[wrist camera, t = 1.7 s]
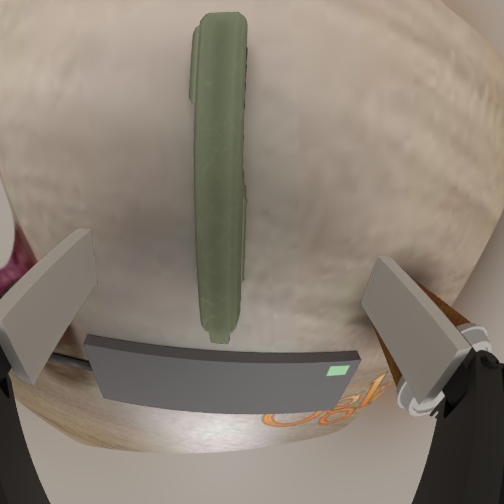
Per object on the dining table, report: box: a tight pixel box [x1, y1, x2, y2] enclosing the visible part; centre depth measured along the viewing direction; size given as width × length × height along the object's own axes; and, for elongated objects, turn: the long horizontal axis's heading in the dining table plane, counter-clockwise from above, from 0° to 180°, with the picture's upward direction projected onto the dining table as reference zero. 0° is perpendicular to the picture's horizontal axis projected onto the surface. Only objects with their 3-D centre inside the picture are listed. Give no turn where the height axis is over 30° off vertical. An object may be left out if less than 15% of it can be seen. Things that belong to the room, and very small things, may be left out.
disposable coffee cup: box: [372, 278, 491, 416], centre depth 21 cm, size 10×10×12 cm
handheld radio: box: [189, 12, 247, 344], centre depth 18 cm, size 7×3×25 cm
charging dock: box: [48, 335, 361, 414], centre depth 28 cm, size 38×10×2 cm, turn 83°
